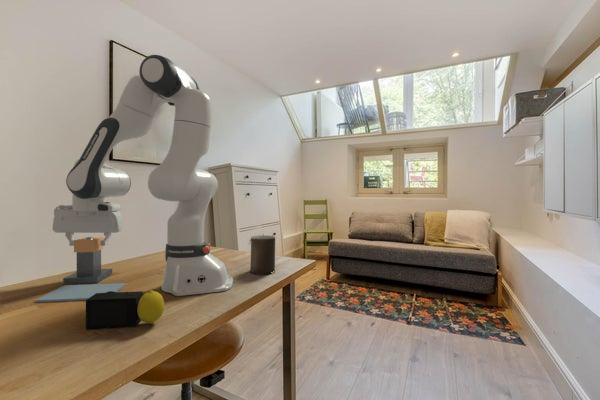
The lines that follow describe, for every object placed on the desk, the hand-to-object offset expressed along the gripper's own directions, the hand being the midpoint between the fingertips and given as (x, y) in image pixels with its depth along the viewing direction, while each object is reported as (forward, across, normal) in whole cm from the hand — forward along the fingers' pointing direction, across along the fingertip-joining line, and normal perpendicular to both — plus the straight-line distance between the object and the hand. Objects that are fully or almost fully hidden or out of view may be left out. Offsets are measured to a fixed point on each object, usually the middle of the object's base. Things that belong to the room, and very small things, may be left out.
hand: (88, 245), depth 95 cm
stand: (+12, 0, 0) cm, 12 cm away
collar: (+2, 0, 0) cm, 2 cm away
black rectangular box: (+12, +24, -35) cm, 45 cm away
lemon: (+12, +32, -37) cm, 50 cm away
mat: (+12, +6, -14) cm, 19 cm away
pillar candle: (+12, +60, +3) cm, 61 cm away
